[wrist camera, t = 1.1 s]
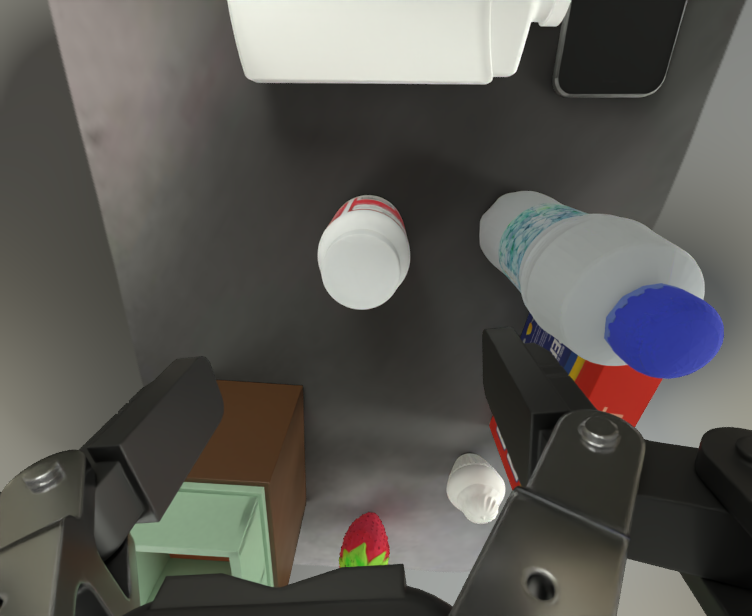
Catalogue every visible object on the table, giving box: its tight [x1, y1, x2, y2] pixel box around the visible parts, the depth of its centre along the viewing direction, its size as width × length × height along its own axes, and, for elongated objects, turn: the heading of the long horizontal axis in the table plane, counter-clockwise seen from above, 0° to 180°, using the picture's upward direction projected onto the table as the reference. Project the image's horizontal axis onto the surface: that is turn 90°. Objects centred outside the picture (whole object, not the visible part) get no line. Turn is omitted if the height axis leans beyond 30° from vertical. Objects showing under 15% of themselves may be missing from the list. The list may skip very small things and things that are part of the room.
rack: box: [130, 380, 306, 606], centre depth 34 cm, size 18×10×17 cm, turn 177°
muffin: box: [447, 453, 505, 524], centre depth 39 cm, size 6×6×7 cm
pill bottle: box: [318, 195, 410, 310], centre depth 26 cm, size 6×6×11 cm
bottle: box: [479, 191, 724, 378], centre depth 22 cm, size 7×7×20 cm
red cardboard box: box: [489, 312, 662, 490], centre depth 31 cm, size 18×4×12 cm, turn 172°
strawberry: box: [339, 512, 390, 568], centre depth 42 cm, size 6×7×10 cm
